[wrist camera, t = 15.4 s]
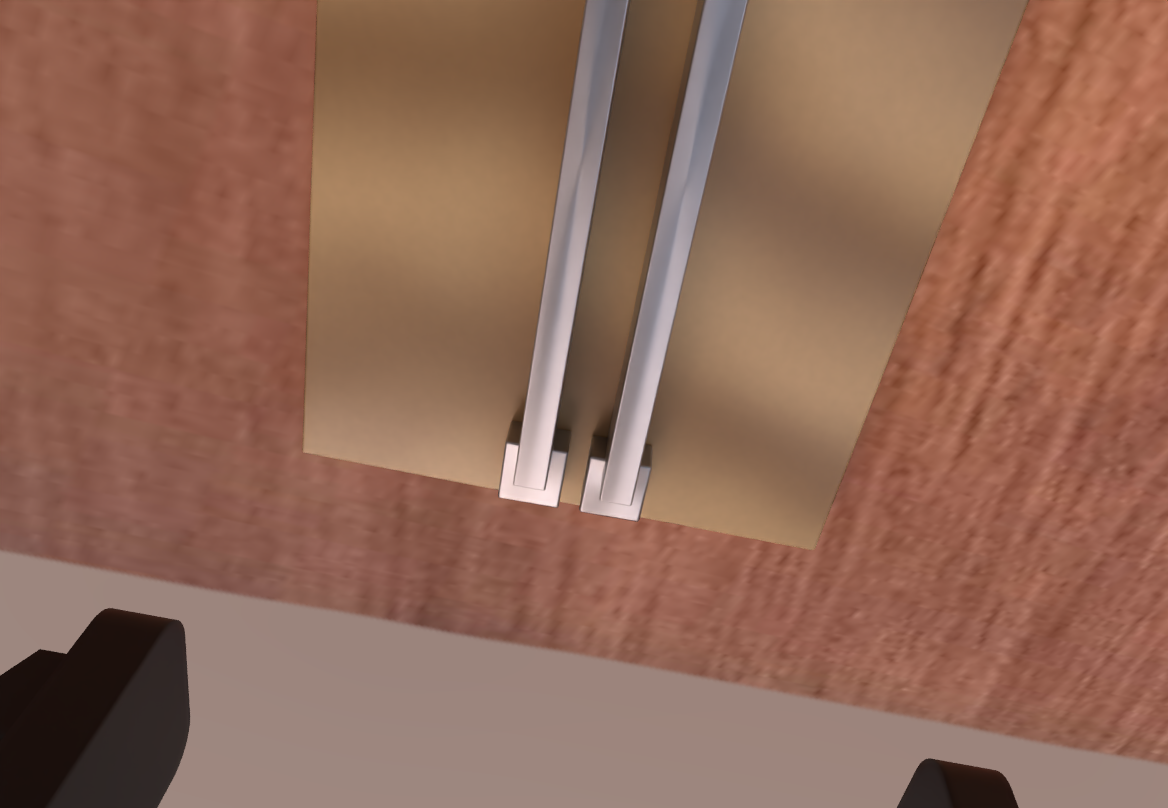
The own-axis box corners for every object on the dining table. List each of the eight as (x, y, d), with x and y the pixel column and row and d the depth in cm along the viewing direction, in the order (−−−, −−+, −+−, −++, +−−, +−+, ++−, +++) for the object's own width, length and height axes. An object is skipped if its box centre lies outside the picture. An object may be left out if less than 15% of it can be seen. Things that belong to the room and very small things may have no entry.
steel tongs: (625, -378, 18) (619, -406, 16) (837, -338, 19) (859, -360, 16) (503, 475, 29) (490, 523, 27) (640, 499, 29) (638, 549, 27)
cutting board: (810, 527, 30) (814, 551, 29) (314, 432, 30) (301, 453, 29) (1133, -320, 19) (1159, -329, 18) (350, -489, 19) (332, -509, 18)
